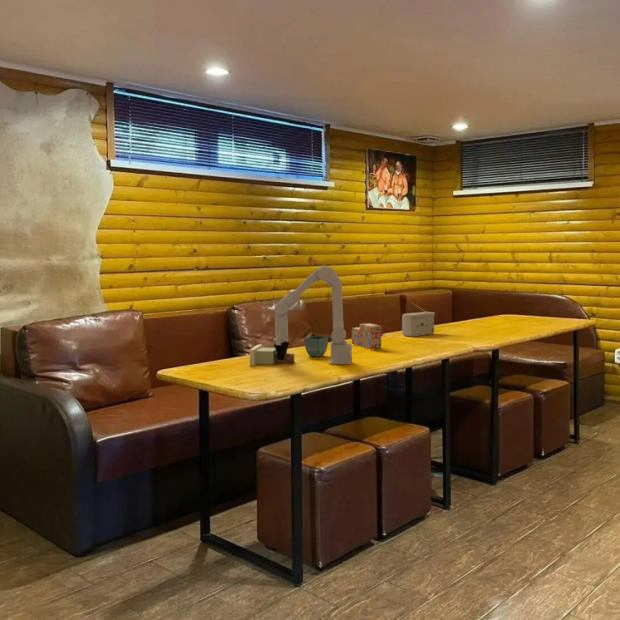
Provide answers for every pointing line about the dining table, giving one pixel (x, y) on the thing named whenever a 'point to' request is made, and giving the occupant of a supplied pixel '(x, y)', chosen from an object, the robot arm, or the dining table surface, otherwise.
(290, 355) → the brown collared bar
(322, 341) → the flower pot
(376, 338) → the stack of blocks
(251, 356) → the wall
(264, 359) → the block
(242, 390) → the dining table surface
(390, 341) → the dining table surface
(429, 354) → the dining table surface
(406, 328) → the stereo radio cassette player
